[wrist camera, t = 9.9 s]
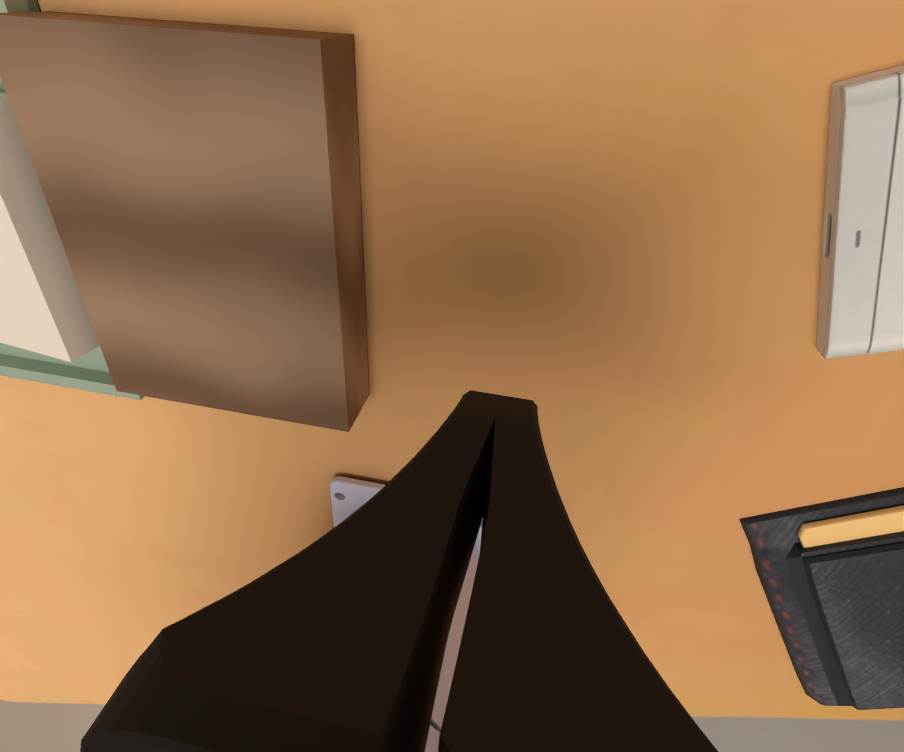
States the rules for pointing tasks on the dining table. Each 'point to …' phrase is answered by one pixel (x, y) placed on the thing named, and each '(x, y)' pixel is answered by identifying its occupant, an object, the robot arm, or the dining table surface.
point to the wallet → (838, 595)
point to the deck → (204, 204)
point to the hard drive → (864, 218)
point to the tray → (42, 368)
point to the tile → (34, 261)
